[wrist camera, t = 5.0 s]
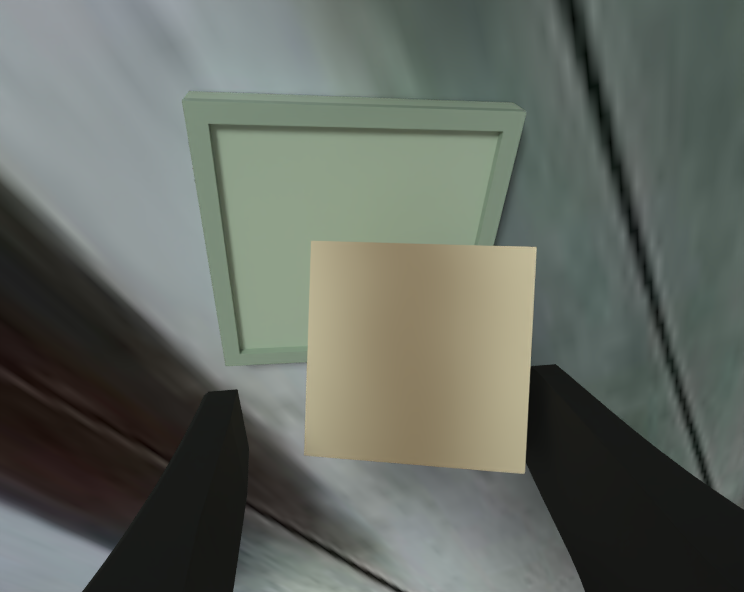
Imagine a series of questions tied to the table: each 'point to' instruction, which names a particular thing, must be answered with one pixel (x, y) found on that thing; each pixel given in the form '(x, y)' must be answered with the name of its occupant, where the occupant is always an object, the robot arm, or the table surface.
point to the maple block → (420, 353)
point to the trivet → (333, 194)
